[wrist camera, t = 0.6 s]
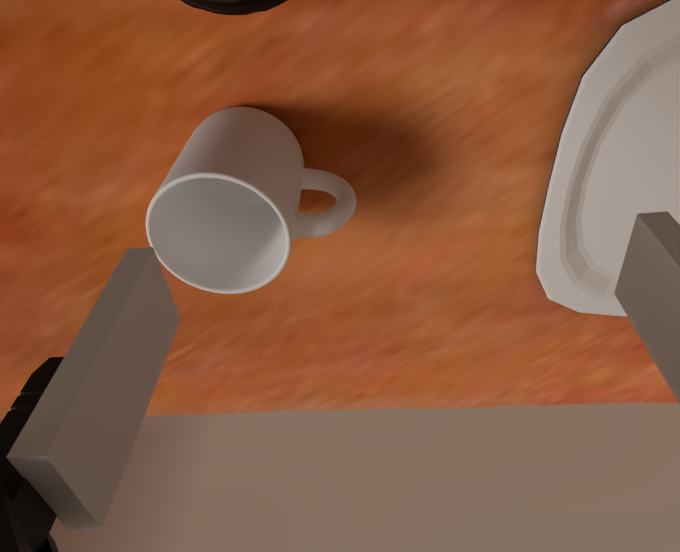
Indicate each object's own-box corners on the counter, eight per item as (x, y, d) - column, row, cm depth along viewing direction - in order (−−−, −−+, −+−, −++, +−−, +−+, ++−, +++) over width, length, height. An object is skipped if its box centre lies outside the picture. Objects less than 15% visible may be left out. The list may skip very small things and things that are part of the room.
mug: (362, 112, 36) (363, 185, 28) (352, 216, 41) (349, 303, 33) (185, 97, 36) (133, 167, 28) (196, 204, 41) (156, 289, 33)
